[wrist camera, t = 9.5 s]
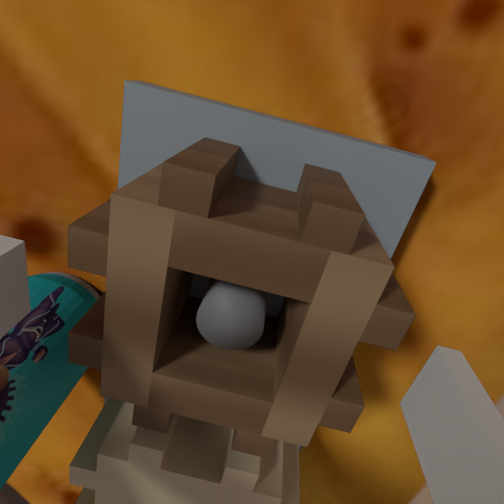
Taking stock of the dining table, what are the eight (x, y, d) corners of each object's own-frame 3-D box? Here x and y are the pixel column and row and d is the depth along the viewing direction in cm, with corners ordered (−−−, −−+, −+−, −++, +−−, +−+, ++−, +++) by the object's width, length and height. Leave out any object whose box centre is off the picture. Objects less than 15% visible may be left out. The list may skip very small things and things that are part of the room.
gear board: (140, 81, 14) (3, 74, 7) (422, 155, 14) (542, 216, 8) (111, 438, 24) (43, 573, 18) (276, 479, 24) (271, 628, 18)
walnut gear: (142, 120, 13) (67, 137, 9) (401, 188, 13) (458, 239, 9) (124, 328, 18) (68, 409, 13) (317, 377, 18) (327, 473, 14)
